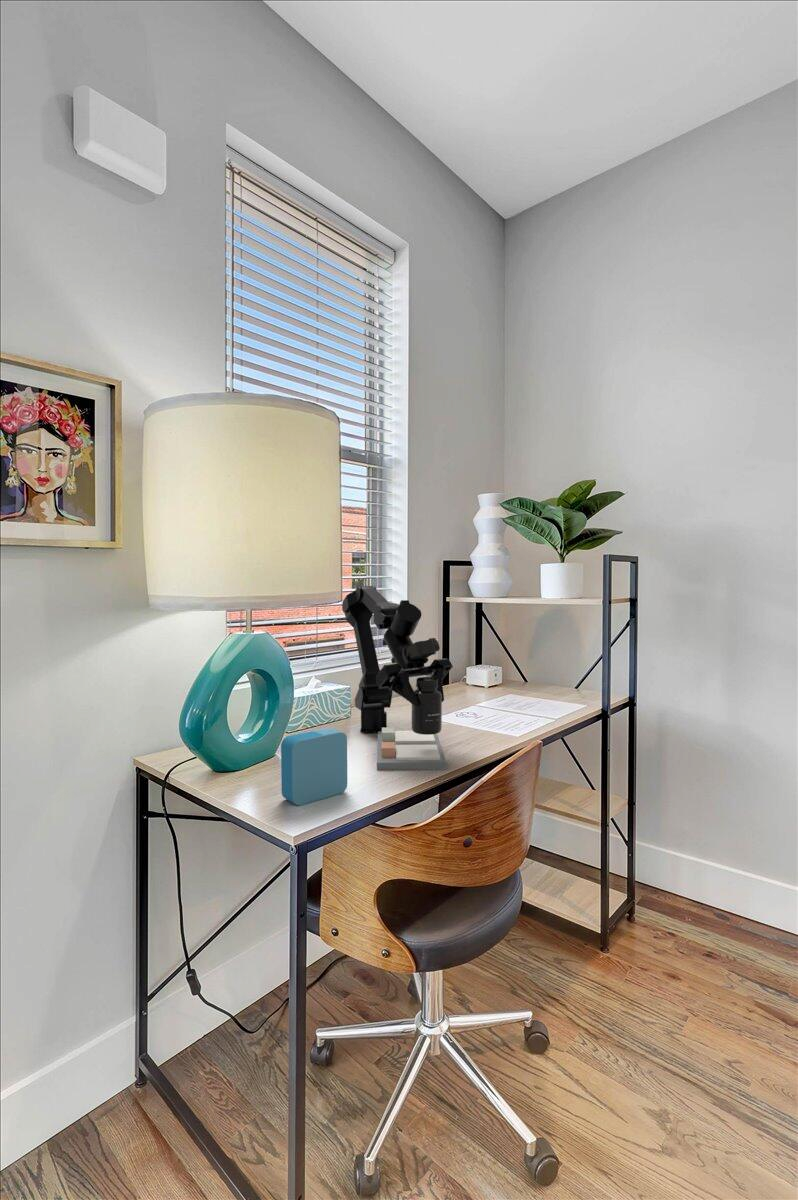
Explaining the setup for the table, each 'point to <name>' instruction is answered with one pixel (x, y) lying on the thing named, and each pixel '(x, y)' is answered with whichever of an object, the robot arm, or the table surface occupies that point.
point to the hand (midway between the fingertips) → (430, 703)
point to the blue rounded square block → (313, 765)
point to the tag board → (408, 751)
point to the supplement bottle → (427, 707)
